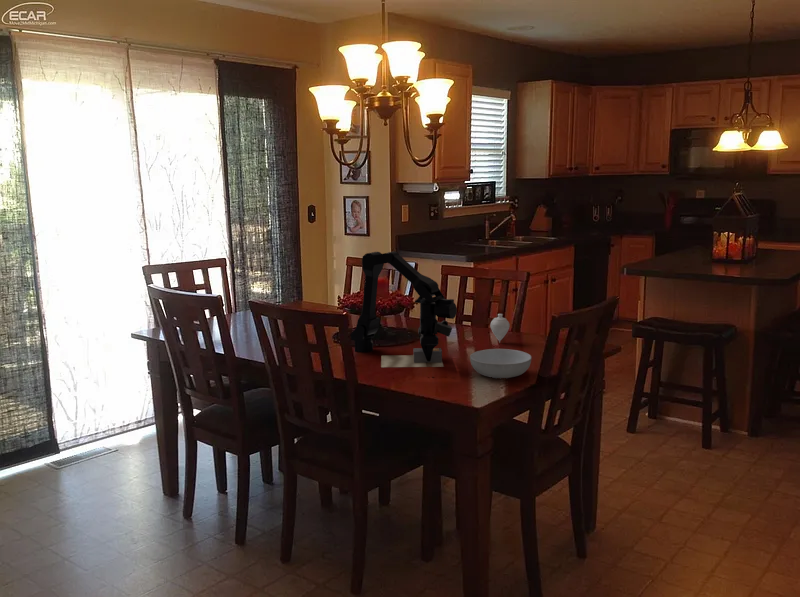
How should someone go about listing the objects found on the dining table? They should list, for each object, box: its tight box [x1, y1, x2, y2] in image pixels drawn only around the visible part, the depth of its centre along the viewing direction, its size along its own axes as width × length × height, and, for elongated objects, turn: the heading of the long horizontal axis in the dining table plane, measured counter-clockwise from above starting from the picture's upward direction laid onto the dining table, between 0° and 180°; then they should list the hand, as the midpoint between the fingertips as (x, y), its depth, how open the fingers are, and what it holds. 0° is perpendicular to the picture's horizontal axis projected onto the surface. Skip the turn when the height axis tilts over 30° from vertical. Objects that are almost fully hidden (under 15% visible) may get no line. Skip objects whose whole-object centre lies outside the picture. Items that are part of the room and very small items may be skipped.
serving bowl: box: [469, 348, 533, 380], centre depth 249 cm, size 21×21×7 cm
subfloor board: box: [380, 354, 445, 368], centre depth 262 cm, size 22×16×2 cm
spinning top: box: [490, 313, 511, 344], centre depth 294 cm, size 8×8×12 cm
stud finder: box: [413, 347, 443, 363], centre depth 262 cm, size 10×5×4 cm, turn 91°
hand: (428, 358), depth 262 cm, fingers open, 9 cm apart
